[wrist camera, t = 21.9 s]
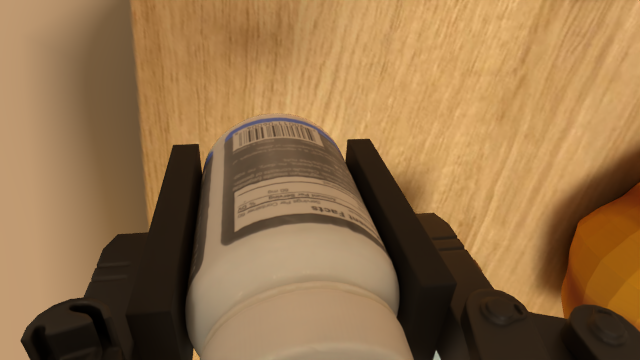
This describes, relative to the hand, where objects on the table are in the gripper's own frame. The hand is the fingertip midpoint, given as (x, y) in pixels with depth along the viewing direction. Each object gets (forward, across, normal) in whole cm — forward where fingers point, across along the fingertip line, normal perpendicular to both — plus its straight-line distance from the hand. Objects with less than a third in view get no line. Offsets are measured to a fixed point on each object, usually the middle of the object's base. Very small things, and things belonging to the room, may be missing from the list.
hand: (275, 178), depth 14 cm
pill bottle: (+1, 0, 0) cm, 1 cm away
